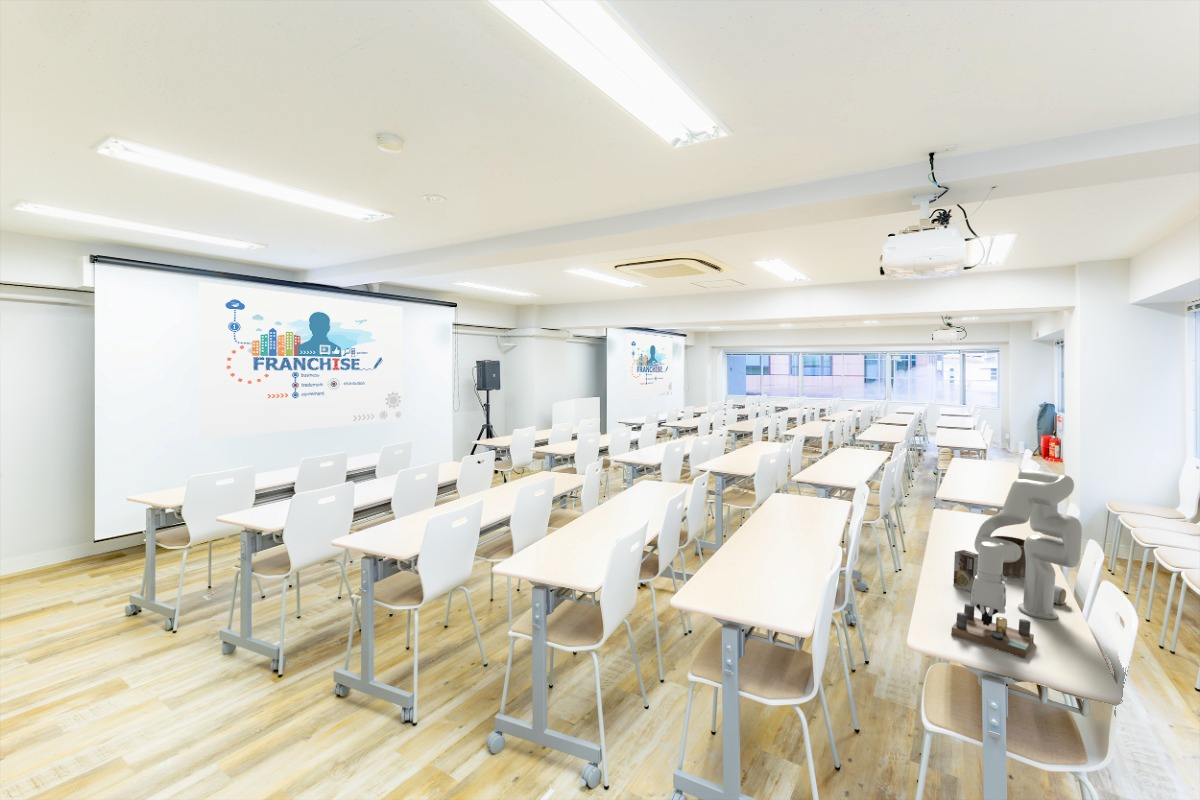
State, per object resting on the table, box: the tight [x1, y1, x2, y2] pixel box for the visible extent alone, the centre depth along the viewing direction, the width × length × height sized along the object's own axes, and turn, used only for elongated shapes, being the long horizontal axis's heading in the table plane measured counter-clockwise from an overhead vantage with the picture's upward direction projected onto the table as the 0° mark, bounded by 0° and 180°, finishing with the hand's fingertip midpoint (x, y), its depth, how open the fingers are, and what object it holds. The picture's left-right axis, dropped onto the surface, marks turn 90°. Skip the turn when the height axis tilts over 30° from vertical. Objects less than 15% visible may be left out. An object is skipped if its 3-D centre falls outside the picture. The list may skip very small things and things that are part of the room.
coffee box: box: [953, 549, 978, 593], centre depth 245 cm, size 9×6×16 cm
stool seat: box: [950, 603, 1035, 659], centre depth 200 cm, size 16×22×8 cm
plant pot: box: [991, 535, 1026, 578], centre depth 264 cm, size 16×16×16 cm
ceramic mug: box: [1053, 585, 1067, 605], centre depth 233 cm, size 11×8×8 cm
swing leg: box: [992, 616, 1008, 640], centre depth 196 cm, size 9×3×5 cm, turn 134°
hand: (986, 624), depth 201 cm, fingers closed
